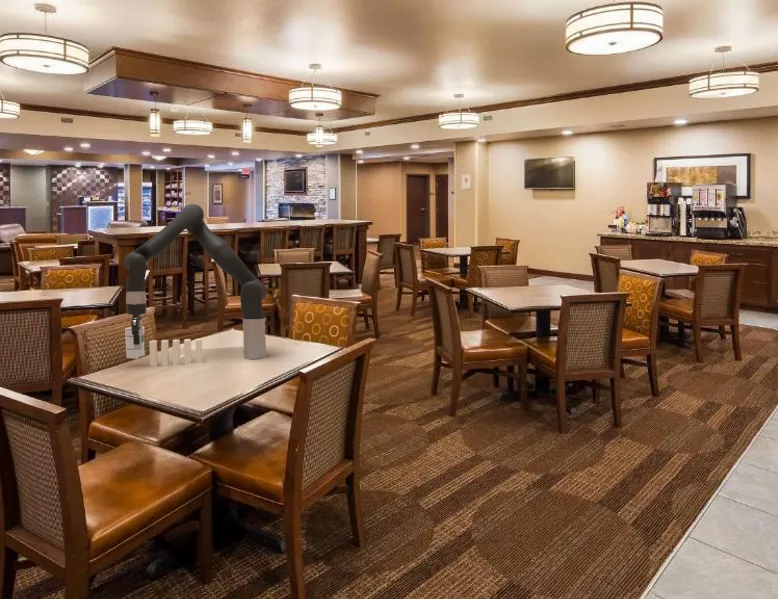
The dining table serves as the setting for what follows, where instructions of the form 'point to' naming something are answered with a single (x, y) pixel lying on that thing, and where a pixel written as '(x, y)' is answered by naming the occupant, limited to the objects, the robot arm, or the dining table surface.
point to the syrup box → (130, 344)
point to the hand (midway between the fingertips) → (137, 343)
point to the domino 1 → (138, 347)
